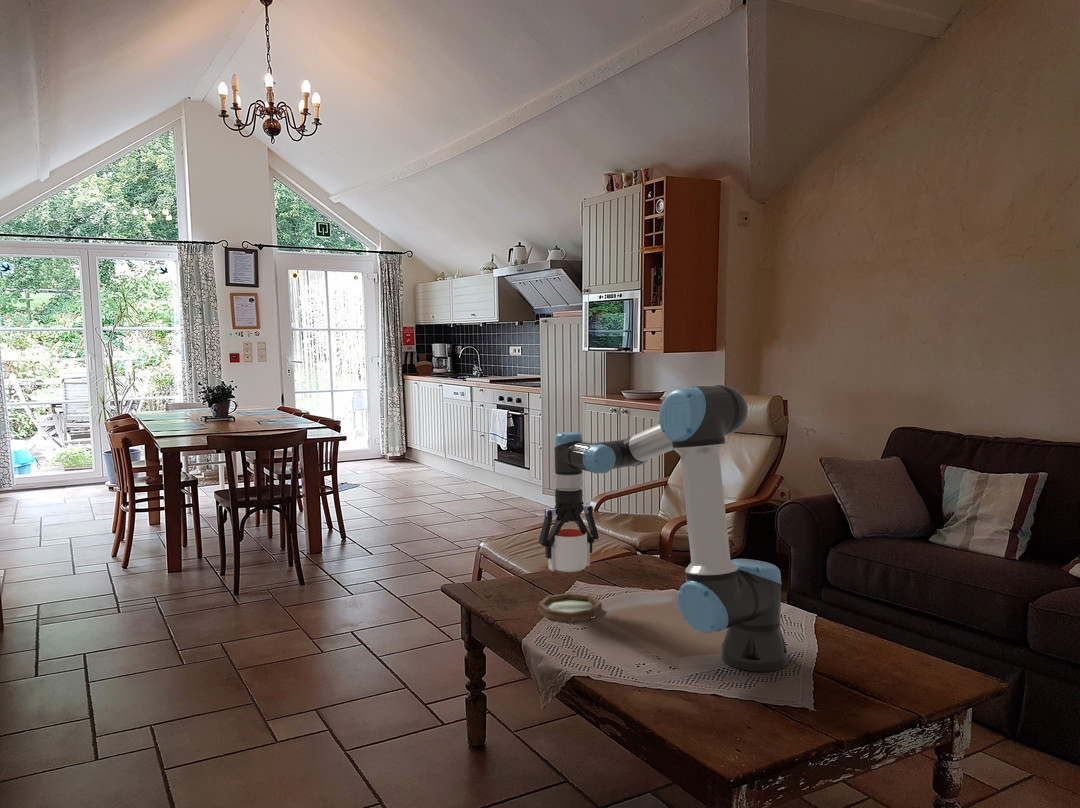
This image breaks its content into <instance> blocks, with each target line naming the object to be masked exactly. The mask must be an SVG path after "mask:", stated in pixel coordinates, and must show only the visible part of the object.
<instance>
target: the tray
mask: <svg viewBox="0 0 1080 808" xmlns="http://www.w3.org/2000/svg"><path fill="white" fill-rule="evenodd" d="M602 605H603V604H602V602H601V601H600V600H598V599H597V598H595V597H594V596H592V595H589V594H580V593H573V592H572V593H571V592H565V593H558V594H553V595H546V596H545V597H543V599H542V600H541V601H539V602H538V603H537V609H538V610H537V612H538V613H540V614H541V615H542V616H543V617H545V618H546V619H547V620H553V621H558V620H559V621H561V622H567V623H576V622H580V621H586V620H587V619H588V620H590V619H589V618H591V617H594V616H596V615H597V616H598V615H599V614H600V613H601V612H602V609H603V608H602ZM597 616H596V617H597ZM559 621H558V622H559Z"/></svg>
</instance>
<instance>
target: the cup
mask: <svg viewBox="0 0 1080 808" xmlns="http://www.w3.org/2000/svg"><path fill="white" fill-rule="evenodd" d="M552 546H553V547H555V570H556V571H558V572H565V573H574V572H579V571H583V570H584V569H585V568H586V567H588V566H587V532H586V534H583V533H582V532H581V531H580V529H579V528H561V529H560V531H559V533H558V535H557V536H555V541H554V543H553V545H552Z"/></svg>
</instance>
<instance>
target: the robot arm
mask: <svg viewBox="0 0 1080 808" xmlns="http://www.w3.org/2000/svg"><path fill="white" fill-rule="evenodd" d="M748 412H749V411H748V403H747V400H746V399H745V397H744V395H743V394H742V393H741V392H740V391H738V390H737V389H736V388H734V387H732V386H728V385H725V384H723V385H722V384H719V385H718V384H716V385H704V386H703V385H698V386H697V385H695V386H687V387H681V388H677V389H673V390H672V391H671V392H669V393H668V394H667V395H666V397H665V398H664V400H663V401H662V403H661V405H660V408H659V412H658V413H659V414H658V424H656V425H654V426H652V427H649V428H647V429H645V430H642V431H640V432H638V433H635V434H634V435H631V436H628V437H627V438H624V439H623V438H622V439H618V440H610V441H601V442H600V441H599V442H587V441H585V442H584V441H583V436H582V433H580V432H576V431H575V432H574V431H562V432H558V433H556V434H555V436H554V447H553V449H554V487H555V490H554V499H555V500H554V502H555V506H554V508H550V509H548V508H545V509H544V519H543V523H542V527H541V531H540V534H539V535H540V536H539V539H538V544H539V545H541V546H543V547H545V554H544V555H545V558H546V559H548V560H547V561H548V565H547V566H548V567H547V568H548V570H550V571H551V572H555V570H556V569H555V547H553V546H552V545H553V543H554V541H555V536H557V535H558V533H559V531H560V529H562V527H563V526H564V525H565V524H566V523H567V524H568V523H569V522H570V523H571V522H572V523H573V522H574V523H576V525H577V528H578V529H580V531H581V532H582V533H583V534H586V532H587V566H586V567H590V566H591V557H590V556H591V554H592V553H593V543H595V541H596V540H599V538H600V536H599V533H598V529H597V525H596V522H595V518H594V515H593V506H592V505H589V504H585V505H583V489H582V487H583V471H585V472H590V473H593V474H607V473H609V472H610V471H611V470H615V469H619V468H620V469H621V468H628V467H638V466H641V465H644V464H646V463H647V462H648V460H651V459H653V458H655V457H658V456H660V455H663V454H666V453H668V452H671V451H675V452H676V453H677V454H678V455H679V456H680V466H681V473H682V476H681V477H682V484H683V493H684V494H683V495H684V503H685V505H684V506H685V512H686V524H687V532H688V544H689V553H690V563H689V564H688V566H687V567H686V568H685V580H686V582H684V583H682V584H681V586H680V588H679V590H678V591H677V595H676V596H677V606H678V610H679V612H680V614H681V616H682V617H683V619H684V621H685V622H687V623H688V625H689V626H690V627H691V628H692V629H694V630H695V631H697V632H700V633H702V634H712V633H716V632H717V633H718V632H723V631H724V630H726V632H725V634H724V635H725V636H724V639H723V641H722V642H721V643H722V644H721V646H720V647H721V648H720V657H721V659H722V660H723V661H724V663H726V664H727V665H729V666H731V667H734V668H737V669H739V670H743V671H744V670H745V671H748V672H749V671H750V672H759V673H760V672H764V673H765V672H766V673H767V672H774V671H778V670H781V669H784V668H785V667H786V666H787V665H788V663H789V653H788V649H787V646H786V642H785V639H784V636H783V632H782V630H781V612H782V611H781V608H782V607H781V606H782V605H781V604H782V603H781V601H782V593H781V592H782V590H781V589H782V584H783V583H782V578H781V577H782V576H781V570H780V569H779V567H778V566H776V565H775V564H773V563H770V562H767V561H762V560H758V559H757V560H756V559H752V558H751V559H749V558H733V559H731V553H730V543H729V542H730V541H729V532H728V524H727V516H726V515H727V514H726V505H725V504H726V503H725V496H724V495H725V494H724V487H723V486H724V485H723V477H722V474H723V473H722V465H721V458H720V453H721V451H722V449H723V448H724V447H725V446H726V439H725V437H726V436H727V435H730V434H733V433H736V432H737V431H739V430H740V429H741V428H742V427H743V426H744V425H745V423H746V420H747V417H748ZM582 512H583V513H584V515H585V519H586V523H587V526H588V528H587V526H586V525H585V523H584V520H583V518H582V516H581V514H582ZM555 515H556V517H555V519H554V524H553V526H552V521H553V517H554V516H555ZM551 526H552V528H551ZM588 529H589V530H588Z"/></svg>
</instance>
